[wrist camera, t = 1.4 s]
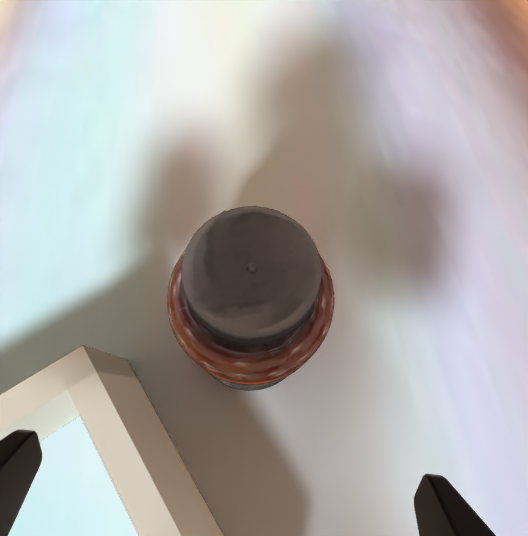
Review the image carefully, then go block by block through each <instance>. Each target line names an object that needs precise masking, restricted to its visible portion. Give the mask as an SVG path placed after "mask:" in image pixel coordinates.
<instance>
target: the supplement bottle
mask: <svg viewBox="0 0 528 536" xmlns="http://www.w3.org/2000/svg"><path fill="white" fill-rule="evenodd" d="M167 307H168V314H169V319H170V323H171V326H172V329H173V332H174V334H175V336H176V338H177V340H178V342H179V344H180V345H181V347H182V348H183V350H184V351H185V352H186V353H187V354H188V355H189V357H191V358H192V359H193V360H194V361H195V362H196V363H198V364H199V365H200V366H202V367H203V368H204V369H205V370H206V371H207V372H209V373H210V374H211V375H213V376H214V377H215V378H216V379H218V380H219V381H220V382H222V383H223V384H225V385H227V386H229V387H232V388H235V389H240V390H248V391H251V390H260V389H264V388H268V387H271V386H273V385H275V384H278V383H279V382H281V381H282V380H283V379H285V378H286V377H287V376H289V375H290V374H292V373H294V372H295V371H296V370H297V369H299V368H300V367H301V366H302V365H303V364H304V363H305V362H306V361H307V360H308V359H309V358H310V357H311V356H312V355H313V354H314V353H315V352H316V351H317V349H318V348H319V347H320V345H321V344H322V342H323V340H324V339H325V336H326V335H327V333H328V330H329V327H330V324H331V320H332V316H333V315H332V314H333V309H334V291H333V284H332V279H331V276H330V273H329V270H328V268H327V267H326V265H325V263H324V261H323V259H322V258H321V256H320V254H319V253H318V250H317V248H316V246H315V244H314V242H313V240H312V239H311V237H310V236H309V234H308V233H307V232H306V230H305V229H304V228H303V227H302V226H301V225H300V224H299V223H297V222H296V221H295V220H293V219H292V218H290V217H288V216H287V215H284V214H282V213H280V212H279V211H276V210H273V209H269V208H264V207H257V206H248V207H240V208H236V209H231V210H229V211H224V212H222V213H221V214H219V215H217V216H215V217H213V218H211V219H210V220H208V221H207V222H206V223H204V225H203V226H202V227H201V228H200V229H199V230H198V231H197V232H196V233H195V234H194V236H193V238H192V239H191V241H190V242H189V244H188V246H187V248H186V250H185V251H184V253H183V254H182V255H181V257H180V258H179V260H178V262H177V264H176V266H175V268H174V270H173V272H172V275H171V278H170V283H169V287H168V296H167Z"/></svg>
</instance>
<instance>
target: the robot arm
mask: <svg viewBox="0 0 528 536" xmlns="http://www.w3.org/2000/svg"><path fill="white" fill-rule="evenodd" d="M41 461H42V451H41V447H40V443H39V438H38V434H37V433H36V432H35V431H32V430H23V429H18V430H16V431H13V432H12V433H10V434H9V435H7V436H6V437H4V438H3V439H1V440H0V536H8V534H9V532H10V530H11V528H12V526H13V523H14V521H15V519H16V517H17V515H18V512H19V510H20V508H21V506H22V504H23V502H24V499H25V497H26V495H27V493H28V491H29V488H30V486H31V484H32V482H33V480H34V477H35V475H36V473H37V471H38V469H39V466H40V464H41ZM414 507H415V513H416V519H417V525H418V530H419V536H496V535H495V534H494V533H493V532H492V531H491V530H490V528H489V527H488V526H487V525H486V524H485V523H484V522H483V520H482V519H481V518H480V517H479V516H478V515H477V513H476V512H475V511H474V510H473V509H472V508H471V507H470V505H469V504H468V503H467V502H466V501H465V500H464V499H463V497H462V496H461V495H460V494H459V493H458V492H457V491H456V489H455V488H454V487H453V486H452V485H451V484H450V483H449V481H448V480H447V479H446V478H445V477H443V476H441V475H434V474H425V475H424V476H423V477H422V480H421V482H420V484H419V486H418V489H417V491H416V493H415V496H414Z"/></svg>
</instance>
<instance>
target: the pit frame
mask: <svg viewBox="0 0 528 536" xmlns="http://www.w3.org/2000/svg"><path fill="white" fill-rule="evenodd" d="M79 416H80V417H81V419H82V421H83V423H84V425H85V427H86V429H87V431H88V434H89V436H90V438H91V440H92V442H93V444H94V446H95V448H96V450H97V452H98V454H99V456H100V458H101V460H102V462H103V464H104V466H105V468H106V470H107V472H108V474H109V476H110V479H111V481H112V483H113V485H114V487H115V489H116V491H117V493H118V495H119V497H120V499H121V501H122V503H123V505H124V507H125V509H126V511H127V513H128V515H129V517H130V519H131V522H132V524H133V526H134V528H135V530H136V532H137V534H138V536H224V535H223V534H222V532H221V530H220V528H219V526H218V525H217V523H216V521H215V519H214V517H213V515H212V514H211V512H210V510H209V508H208V506H207V504H206V503H205V501H204V499H203V497H202V495H201V493H200V492H199V490H198V488H197V486H196V484H195V483H194V481H193V479H192V477H191V475H190V473H189V472H188V470H187V468H186V466H185V464H184V462H183V461H182V459H181V457H180V455H179V453H178V451H177V450H176V448H175V446H174V444H173V442H172V441H171V439H170V437H169V435H168V433H167V431H166V430H165V428H164V426H163V424H162V422H161V420H160V419H159V417H158V415H157V413H156V411H155V410H154V408H153V406H152V404H151V402H150V400H149V399H148V397H147V395H146V393H145V391H144V389H143V388H142V386H141V384H140V382H139V380H138V378H137V377H136V375H135V373H134V371H133V369H132V368H131V366H130V364H129V362H128V360H127V359H124V358H120V357H117V356H114V355H111V354H108V353H105V352H102V351H99V350H96V349H92V348H89V347H86V346H83V345H82V346H81V347H79V348H77V349H76V350H74V351H72V352H71V353H69V354H67V355H66V356H64V357H62V358H61V359H59V360H57V361H56V362H54V363H52V364H51V365H49V366H47V367H46V368H44V369H42V370H41V371H39V372H37V373H36V374H34V375H32V376H31V377H29V378H27V379H26V380H24V381H22V382H21V383H19V384H17V385H16V386H14V387H13V388H11V389H9V390H8V391H6V392H4V393H3V394H1V395H0V440H1V439H3V438H4V437H6V436H7V435H9V434H10V433H12V432H13V431H16V430H18V429H23V430H32V431H35V432H36V433H37V434H38V438H39V442H40V441H42V440H43V439H45V438H47V437H48V436H50V435H51V434H53V433H54V432H56V431H57V430H59V429H61V428H62V427H64V426H65V425H67V424H68V423H70V422H71V421H73V420H74V419H76V418H78V417H79Z"/></svg>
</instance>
